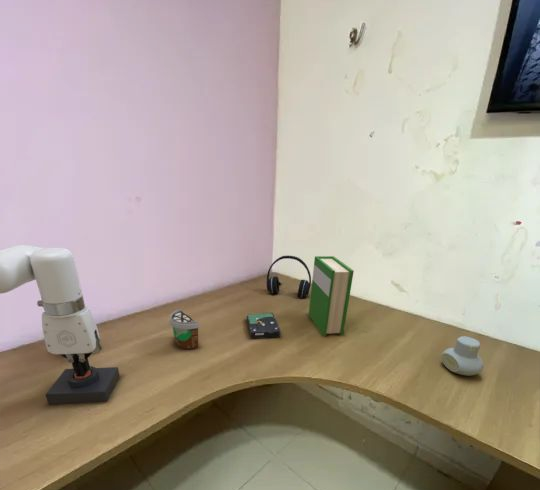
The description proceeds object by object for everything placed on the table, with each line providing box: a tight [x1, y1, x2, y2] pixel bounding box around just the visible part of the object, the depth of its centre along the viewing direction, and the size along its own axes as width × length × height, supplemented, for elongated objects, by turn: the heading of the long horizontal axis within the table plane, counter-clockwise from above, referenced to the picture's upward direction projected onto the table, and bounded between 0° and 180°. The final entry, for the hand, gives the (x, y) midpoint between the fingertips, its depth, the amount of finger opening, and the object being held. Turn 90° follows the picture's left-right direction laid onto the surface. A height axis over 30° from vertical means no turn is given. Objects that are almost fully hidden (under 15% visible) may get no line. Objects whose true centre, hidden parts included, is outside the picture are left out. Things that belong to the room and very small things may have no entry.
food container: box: [169, 308, 200, 350], centre depth 98 cm, size 12×6×10 cm, turn 40°
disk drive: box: [246, 312, 281, 339], centre depth 112 cm, size 10×3×15 cm
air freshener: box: [441, 335, 485, 377], centre depth 92 cm, size 11×8×10 cm
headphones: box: [266, 255, 312, 298], centre depth 139 cm, size 20×7×18 cm, turn 77°
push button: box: [74, 370, 91, 379], centre depth 77 cm, size 4×4×2 cm
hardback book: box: [308, 255, 355, 337], centre depth 112 cm, size 18×7×24 cm, turn 11°
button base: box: [45, 365, 121, 406], centre depth 77 cm, size 13×10×5 cm
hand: (83, 372), depth 76 cm, fingers closed
